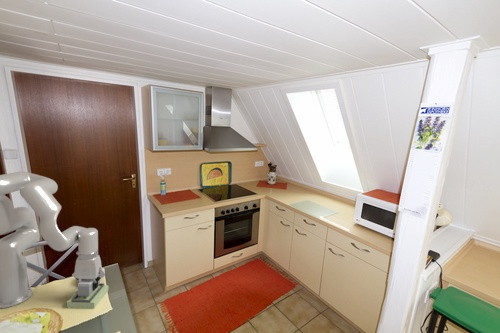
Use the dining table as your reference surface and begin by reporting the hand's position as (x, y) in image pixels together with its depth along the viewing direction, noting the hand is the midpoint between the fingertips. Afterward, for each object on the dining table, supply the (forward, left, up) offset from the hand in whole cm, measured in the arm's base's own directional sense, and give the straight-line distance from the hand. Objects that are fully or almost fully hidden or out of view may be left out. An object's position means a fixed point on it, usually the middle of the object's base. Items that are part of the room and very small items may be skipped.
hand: (89, 288), depth 109 cm
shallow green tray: (0, 0, -6) cm, 6 cm away
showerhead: (-5, +12, -6) cm, 14 cm away
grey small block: (0, 0, -1) cm, 1 cm away
